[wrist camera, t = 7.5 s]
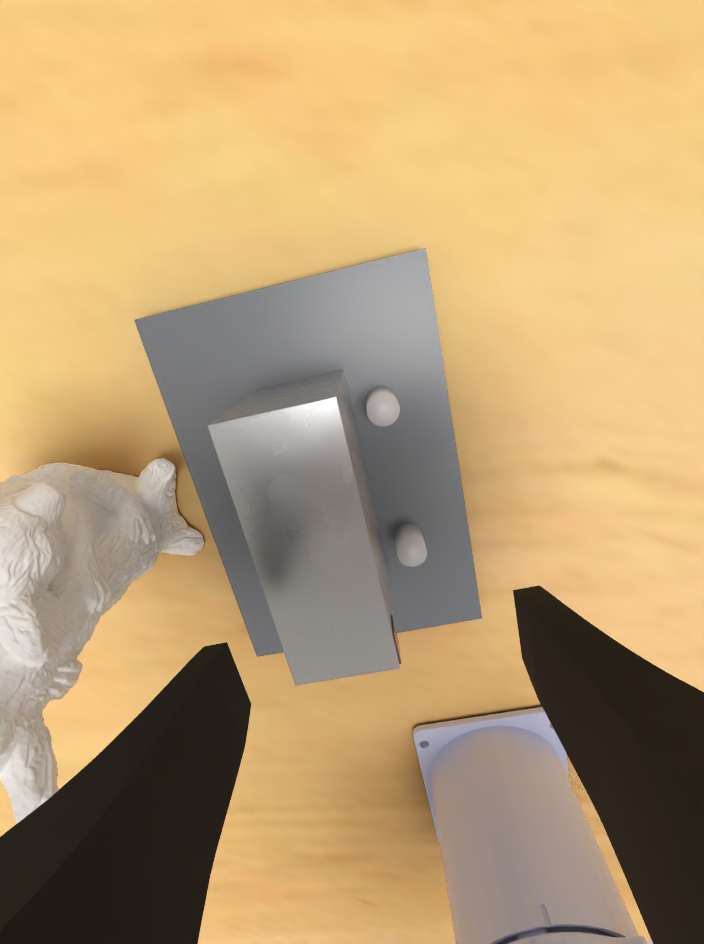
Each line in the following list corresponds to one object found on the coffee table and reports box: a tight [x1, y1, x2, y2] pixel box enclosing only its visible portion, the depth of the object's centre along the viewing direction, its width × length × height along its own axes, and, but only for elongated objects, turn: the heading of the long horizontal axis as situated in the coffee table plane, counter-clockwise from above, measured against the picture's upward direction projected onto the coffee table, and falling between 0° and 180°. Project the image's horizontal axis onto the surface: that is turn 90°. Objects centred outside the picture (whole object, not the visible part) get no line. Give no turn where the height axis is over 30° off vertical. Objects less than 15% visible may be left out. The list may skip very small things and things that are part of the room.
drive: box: [208, 369, 401, 685], centre depth 16 cm, size 9×4×6 cm, turn 13°
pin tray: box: [134, 248, 482, 657], centre depth 19 cm, size 16×11×3 cm
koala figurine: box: [0, 458, 204, 823], centre depth 15 cm, size 8×7×12 cm
